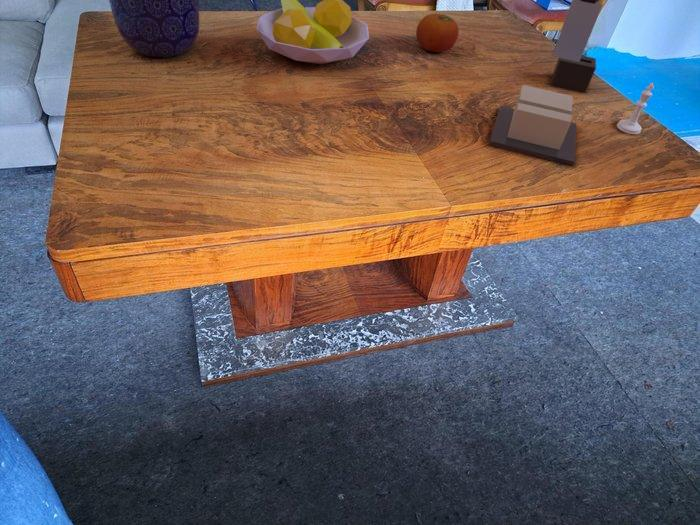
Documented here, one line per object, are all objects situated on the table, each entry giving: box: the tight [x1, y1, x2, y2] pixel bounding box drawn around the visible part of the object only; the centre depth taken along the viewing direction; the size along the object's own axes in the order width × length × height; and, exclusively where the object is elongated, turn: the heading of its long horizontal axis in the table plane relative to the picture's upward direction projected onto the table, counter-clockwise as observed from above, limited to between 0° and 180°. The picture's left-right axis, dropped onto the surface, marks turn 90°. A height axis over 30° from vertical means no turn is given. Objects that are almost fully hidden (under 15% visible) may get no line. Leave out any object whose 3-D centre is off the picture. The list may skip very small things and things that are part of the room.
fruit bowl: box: [255, 0, 370, 65], centre depth 120 cm, size 28×27×11 cm
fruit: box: [415, 12, 459, 53], centre depth 128 cm, size 11×10×8 cm
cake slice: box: [508, 103, 573, 150], centre depth 97 cm, size 10×3×6 cm, turn 71°
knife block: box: [550, 55, 597, 94], centre depth 120 cm, size 8×6×6 cm
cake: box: [510, 84, 574, 126], centre depth 102 cm, size 10×7×6 cm
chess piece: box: [616, 82, 655, 135], centre depth 105 cm, size 5×5×10 cm
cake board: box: [488, 105, 577, 167], centre depth 102 cm, size 16×16×1 cm
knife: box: [551, 0, 604, 62], centre depth 88 cm, size 5×2×17 cm, turn 70°
